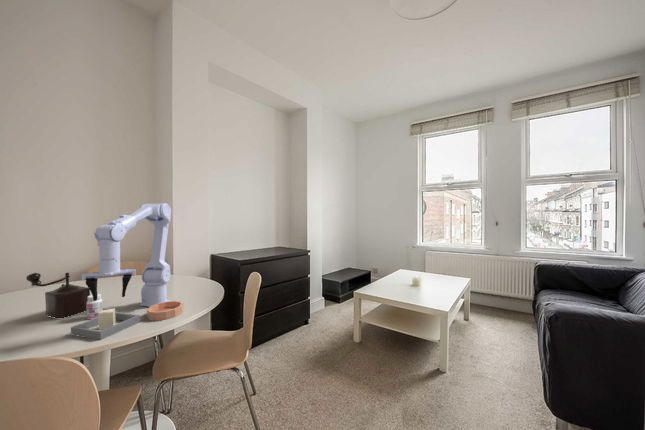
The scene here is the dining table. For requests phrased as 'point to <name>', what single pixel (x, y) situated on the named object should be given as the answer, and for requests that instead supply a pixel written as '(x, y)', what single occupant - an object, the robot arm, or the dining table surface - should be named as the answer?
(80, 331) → the tray
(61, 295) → the manual coffee grinder
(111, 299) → the dining table surface
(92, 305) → the pill bottle
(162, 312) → the bowl
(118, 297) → the dining table surface
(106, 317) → the sandstone block
